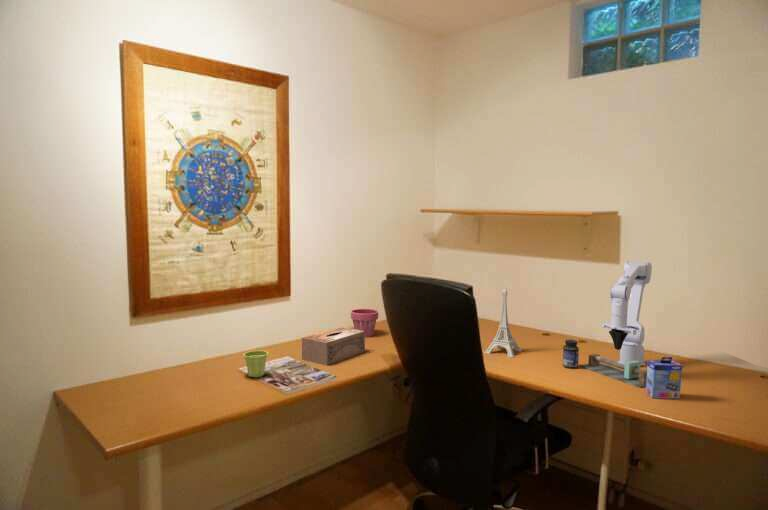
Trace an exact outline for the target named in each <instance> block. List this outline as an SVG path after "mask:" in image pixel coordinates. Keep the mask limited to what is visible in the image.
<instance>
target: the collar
mask: <svg viewBox="0 0 768 510" xmlns="http://www.w3.org/2000/svg"><path fill="white" fill-rule="evenodd" d="M632 366H633V367H636V368H637V369H640V370H641V366H640V362H639V361H636V360H635V361H629V362H625V367H624V370H623V371H624V378H627V379H632V378H637V377H639V375H638V374H635V373H634V374H633V373H631V367H632Z"/></svg>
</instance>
